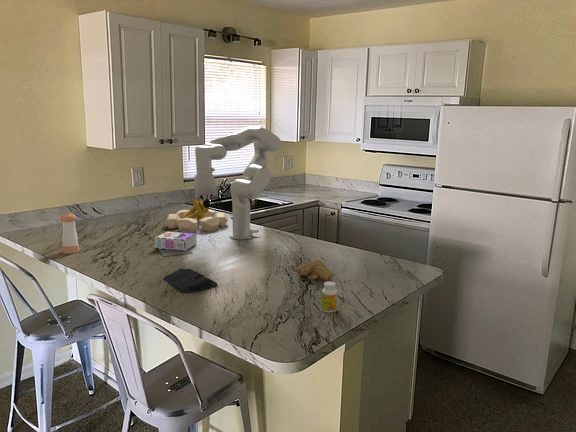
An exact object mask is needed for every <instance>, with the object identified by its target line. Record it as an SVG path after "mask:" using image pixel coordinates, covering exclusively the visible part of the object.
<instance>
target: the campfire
mask: <svg viewBox="0 0 576 432" xmlns="http://www.w3.org/2000/svg"><path fill="white" fill-rule="evenodd" d="M191 203H192V205H193V206H192V207H191V208H190V209H189V210H188V209H181V210H177V212H176V213H169V214H168V215H167V217H166V219H165V221H164V223H165V224H166V226H167V228H168V229H179V230H180V232H181V233H196V232H198V231H199V224H200V227H201V229H202V231H203V232H207V233H209V232H215V231H217V230H218V228H223V227H224V228H225V227H226V225H227V224H228V222H229V219H228V217H227V215H226V213H225V212H217V211H216V210H214V209H210V208H204V206H203V200H202V199H201V198H200V199H199V200H197V199H196V198H194V199H192V200H191Z"/></svg>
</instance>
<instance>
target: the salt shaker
mask: <svg viewBox="0 0 576 432" xmlns="http://www.w3.org/2000/svg"><path fill="white" fill-rule="evenodd" d="M59 220H60V221H61V222H62V225H61V226H62V236H61V237H62V239H61V240H62V246H61V248H62V254H64V255H65V254H66V255H70V254H77V253H79V252H80V245H79V243H78V234H77V230H76V221H77V216H76V215H75V214H74V213H70V212H66V213H64V214H62V215H61V216H60V218H59Z"/></svg>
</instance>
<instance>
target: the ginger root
mask: <svg viewBox="0 0 576 432" xmlns="http://www.w3.org/2000/svg"><path fill="white" fill-rule="evenodd" d="M293 269H294V270H295V271H297V272H298V275H299V276H306V277H307V279H308V280H310V281H313V280H317V279H318V280H322V281H329V280H330V279H333V278H334V277H335V271H334V270H333V269H332V270H330V268H328V267H327V265H326V264H325V263H324V262H323V261H322V260H321V259H320V258H317V259H314V260H313V261H312V262H310V261H304V262H302V263H301V264H300V265H299V266H295V267H293Z"/></svg>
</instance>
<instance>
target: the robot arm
mask: <svg viewBox="0 0 576 432" xmlns="http://www.w3.org/2000/svg"><path fill="white" fill-rule="evenodd" d="M251 144H253V149H254V155H253V157H252V159H251V161H250V162H249V163H248V164H247V165H246V167H245V169H244V171H243V174H242V177H243V179H242V178H237V179H235V180H233V181H232V182H231V184H230V188H229V189H230V195H231V200H232V201H231V202H232V204H231V205H232V206H231V207H232V233H230V234H229V237H230V239H233V240H240V241H241V240H242V241H243V240H249V239H250V240H251V239H252V238H253V237H254V234H255V233H256V234H258V233H260V232H259V231H260V230H259V229H258V228H257V229H256V228H251V202H250V200H255V199H257V198H258V197H260V196H261V193H263V191H264V190H265V188H266V187H267V186H268V184H269V182H270V181H271V178H272V177H271V176H272V172H271V169H270V168H269V167H267V166H268V163H269V157H268V153H267V152H270V153H271V152H273V153H275V152H278V151H279V150H280V148H282V140H281V138H280V137H279V136H278V135H277V134H275V133H273V132H271V131H270V130H269V129H267V128H265V127H262V126H247V127H244V128H243V129H240V130H239V131H235V132H234V133H231V134H229V135H225V136H221V137H217V138H214V139H212V140H209V141H208V142H205V143H204V144H202V145H198V146H196V147H195V148H194V150H195V151H194V153H195V167H196V173H195V174H194V182H193V183H194V184H193V186H194V193H195V194H194V196H195V198H200V199H202V200H203V206H204V208H208V209H210V206H211V203H210V200H211V199H212V197H215V196H217V184H216V179H215V175H214V173H213V172H215V171H216V170H215V169H216V168H214V167H212V165H213V163H212V161H220V160H223V159H225V158H226V156H227V154H228V152H231V151H232V152H234V151H239V150H242V149H243V148H244V147H247V146H249V145H251Z"/></svg>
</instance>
